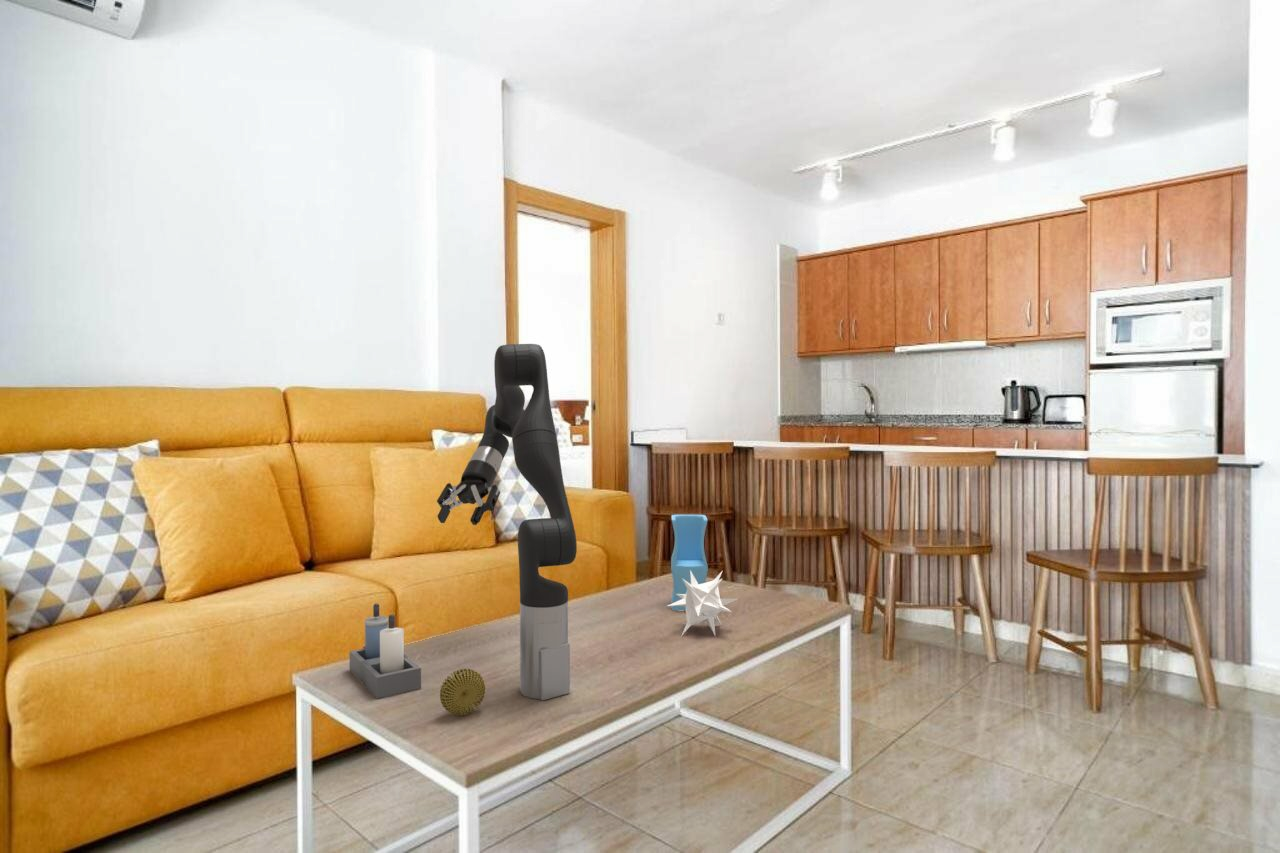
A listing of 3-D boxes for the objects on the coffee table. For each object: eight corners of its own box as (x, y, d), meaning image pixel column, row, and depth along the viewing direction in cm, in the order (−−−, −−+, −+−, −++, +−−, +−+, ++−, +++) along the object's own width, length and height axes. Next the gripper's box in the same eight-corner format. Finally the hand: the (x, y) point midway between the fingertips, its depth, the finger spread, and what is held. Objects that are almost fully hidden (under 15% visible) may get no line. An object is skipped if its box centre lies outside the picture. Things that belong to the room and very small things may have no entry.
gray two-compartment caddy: (421, 688, 138) (420, 615, 138) (376, 698, 133) (376, 623, 132) (390, 661, 153) (390, 596, 153) (349, 670, 148) (349, 602, 147)
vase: (671, 611, 193) (671, 519, 192) (671, 601, 202) (671, 514, 202) (707, 611, 192) (707, 519, 192) (705, 601, 202) (705, 514, 202)
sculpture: (481, 705, 130) (481, 662, 129) (488, 713, 126) (488, 669, 126) (437, 714, 126) (437, 669, 126) (442, 723, 122) (442, 677, 122)
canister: (391, 672, 146) (390, 604, 146) (368, 677, 144) (368, 607, 143) (384, 666, 150) (383, 599, 150) (362, 670, 147) (361, 602, 147)
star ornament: (752, 636, 172) (752, 577, 171) (708, 649, 163) (708, 587, 162) (697, 615, 188) (697, 561, 187) (654, 626, 179) (654, 569, 178)
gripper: (451, 458, 173) (423, 510, 162) (503, 459, 169) (477, 513, 158) (463, 477, 178) (436, 530, 168) (513, 479, 174) (490, 533, 163)
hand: (456, 522), depth 163 cm, fingers open, 8 cm apart
